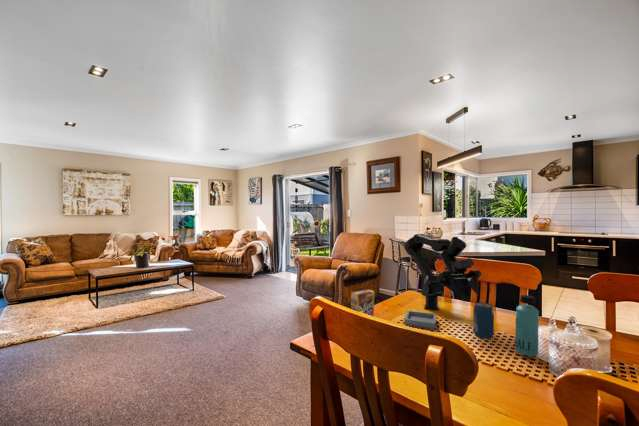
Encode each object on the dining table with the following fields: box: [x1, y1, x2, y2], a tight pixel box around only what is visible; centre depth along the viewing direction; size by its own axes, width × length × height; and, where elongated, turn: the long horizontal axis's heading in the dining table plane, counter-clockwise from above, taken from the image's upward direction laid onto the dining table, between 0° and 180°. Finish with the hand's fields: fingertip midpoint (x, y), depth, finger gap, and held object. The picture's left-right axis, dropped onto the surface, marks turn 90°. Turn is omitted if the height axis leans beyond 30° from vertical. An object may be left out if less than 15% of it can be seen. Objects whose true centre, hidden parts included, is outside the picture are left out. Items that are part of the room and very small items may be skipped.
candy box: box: [350, 289, 375, 316], centre depth 119 cm, size 9×4×15 cm, turn 123°
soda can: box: [472, 301, 495, 340], centre depth 115 cm, size 7×7×12 cm
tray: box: [403, 309, 437, 331], centre depth 129 cm, size 12×12×2 cm
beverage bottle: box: [514, 294, 540, 357], centre depth 99 cm, size 6×7×20 cm
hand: (468, 294), depth 123 cm, fingers open, 9 cm apart
